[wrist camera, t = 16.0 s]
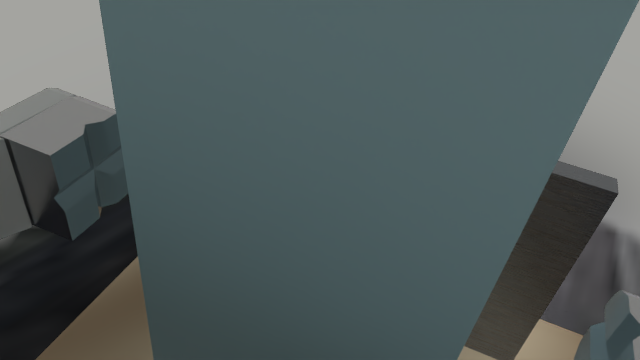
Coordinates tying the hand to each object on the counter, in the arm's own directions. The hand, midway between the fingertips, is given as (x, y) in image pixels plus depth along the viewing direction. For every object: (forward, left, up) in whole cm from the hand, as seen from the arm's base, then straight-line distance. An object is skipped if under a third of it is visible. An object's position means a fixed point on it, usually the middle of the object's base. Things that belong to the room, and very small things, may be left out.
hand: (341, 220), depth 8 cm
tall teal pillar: (0, -1, -8) cm, 8 cm away
